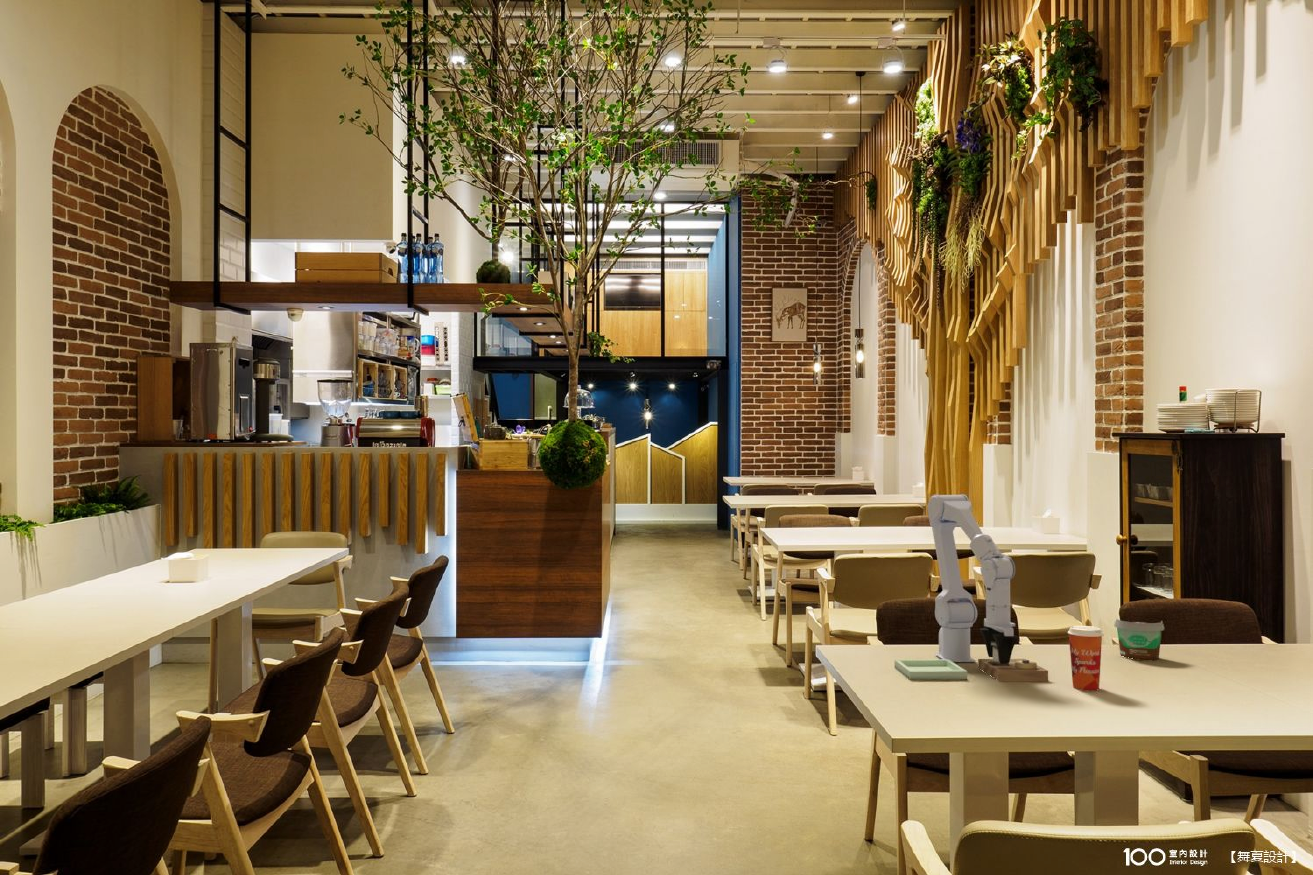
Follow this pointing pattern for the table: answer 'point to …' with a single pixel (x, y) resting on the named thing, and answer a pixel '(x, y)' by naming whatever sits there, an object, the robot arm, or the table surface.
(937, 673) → the tray
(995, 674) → the tensioner block
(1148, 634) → the food container
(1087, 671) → the paper cup
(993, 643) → the pin
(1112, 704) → the table surface
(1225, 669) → the table surface
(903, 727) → the table surface
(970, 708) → the table surface
